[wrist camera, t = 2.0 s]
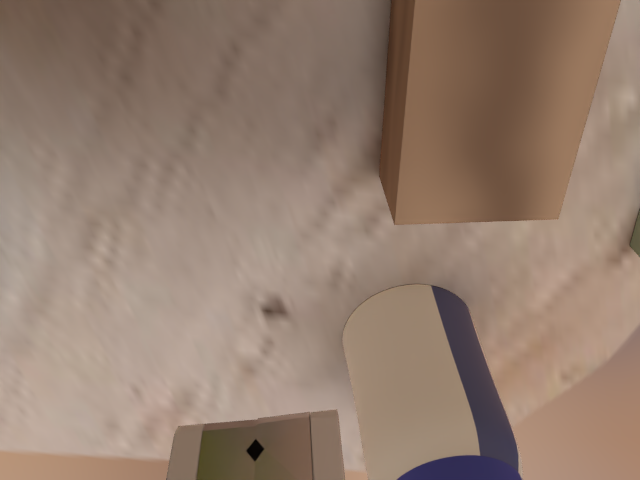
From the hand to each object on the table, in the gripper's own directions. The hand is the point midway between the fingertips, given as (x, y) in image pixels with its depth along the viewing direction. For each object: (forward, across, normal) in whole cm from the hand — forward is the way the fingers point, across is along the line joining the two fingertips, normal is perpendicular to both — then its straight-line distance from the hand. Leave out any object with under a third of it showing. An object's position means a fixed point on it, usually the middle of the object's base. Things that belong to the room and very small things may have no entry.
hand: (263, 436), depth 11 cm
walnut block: (+17, -8, 0) cm, 19 cm away
